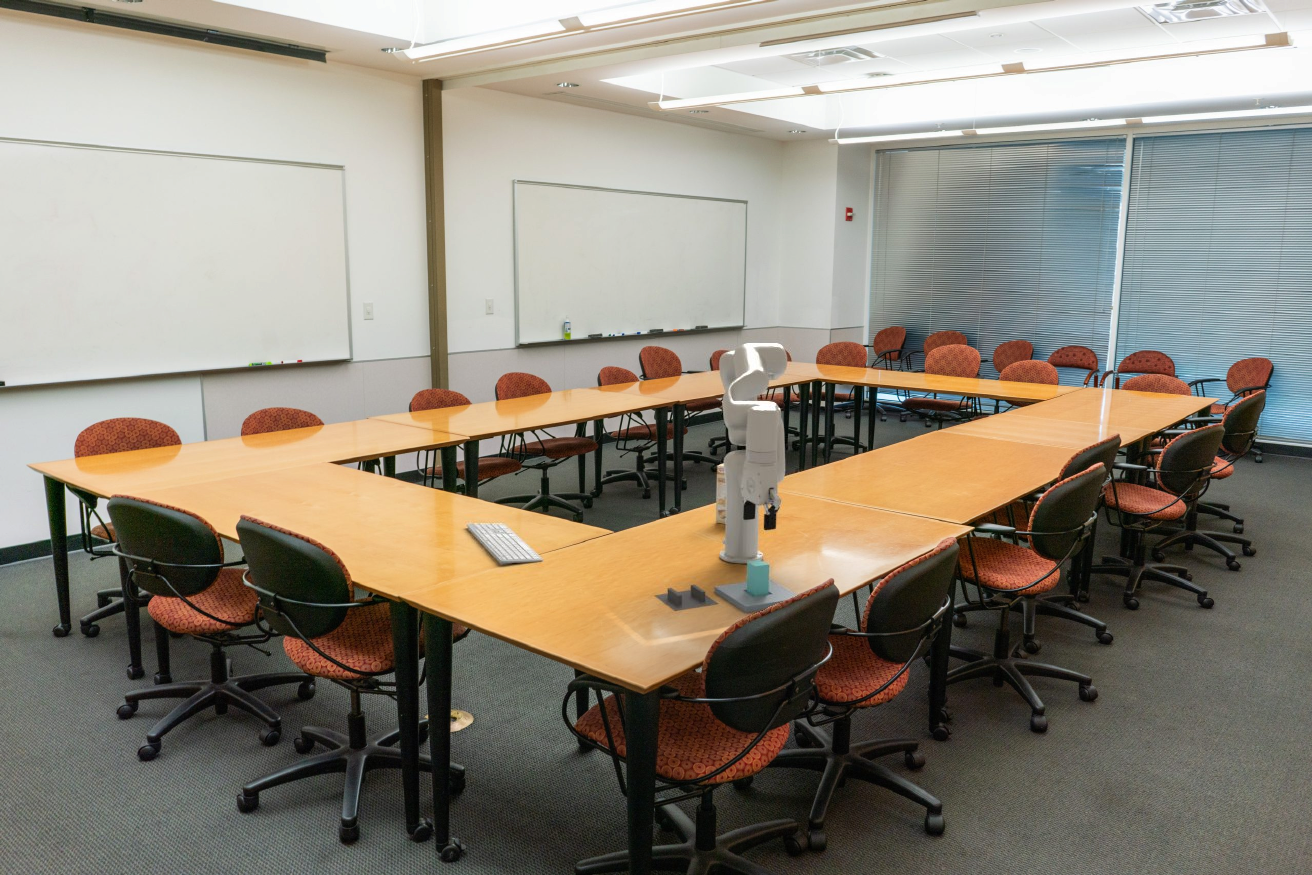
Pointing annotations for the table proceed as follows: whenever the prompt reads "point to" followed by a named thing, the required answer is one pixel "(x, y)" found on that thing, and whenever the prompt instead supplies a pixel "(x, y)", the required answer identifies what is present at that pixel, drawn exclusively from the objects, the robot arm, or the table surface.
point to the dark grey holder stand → (686, 598)
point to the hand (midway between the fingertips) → (759, 524)
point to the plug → (757, 578)
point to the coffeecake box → (721, 495)
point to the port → (748, 602)
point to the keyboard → (503, 543)
